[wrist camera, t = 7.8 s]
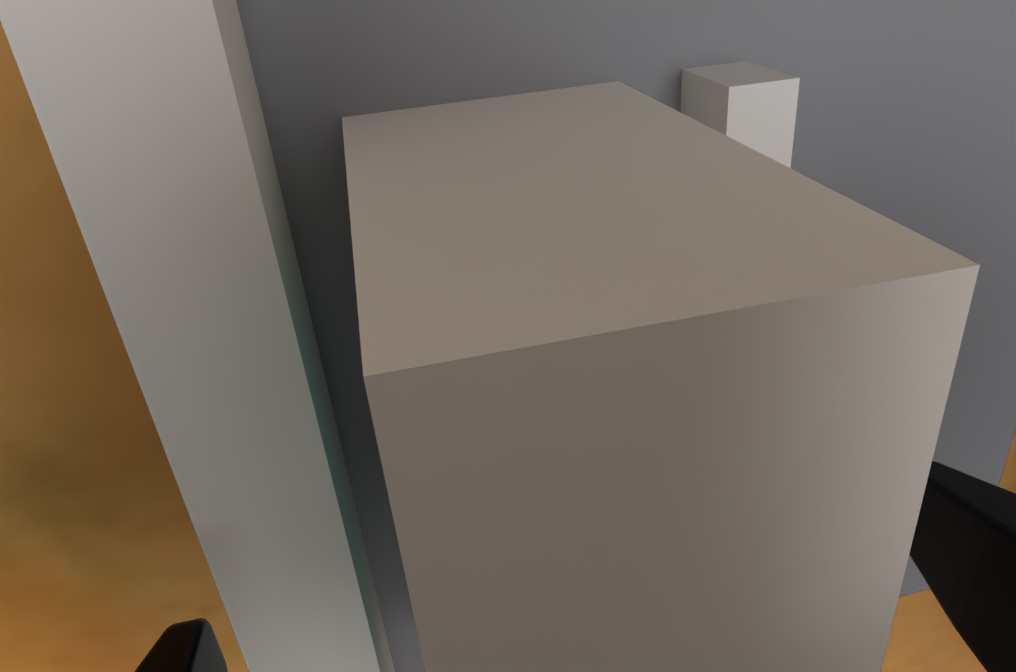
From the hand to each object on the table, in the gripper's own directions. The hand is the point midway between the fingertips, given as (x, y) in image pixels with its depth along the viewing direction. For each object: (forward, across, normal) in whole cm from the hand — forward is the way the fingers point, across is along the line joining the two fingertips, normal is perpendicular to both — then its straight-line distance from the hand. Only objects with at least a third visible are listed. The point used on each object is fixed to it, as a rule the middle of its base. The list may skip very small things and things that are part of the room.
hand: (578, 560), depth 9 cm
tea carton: (+4, 0, 0) cm, 4 cm away
